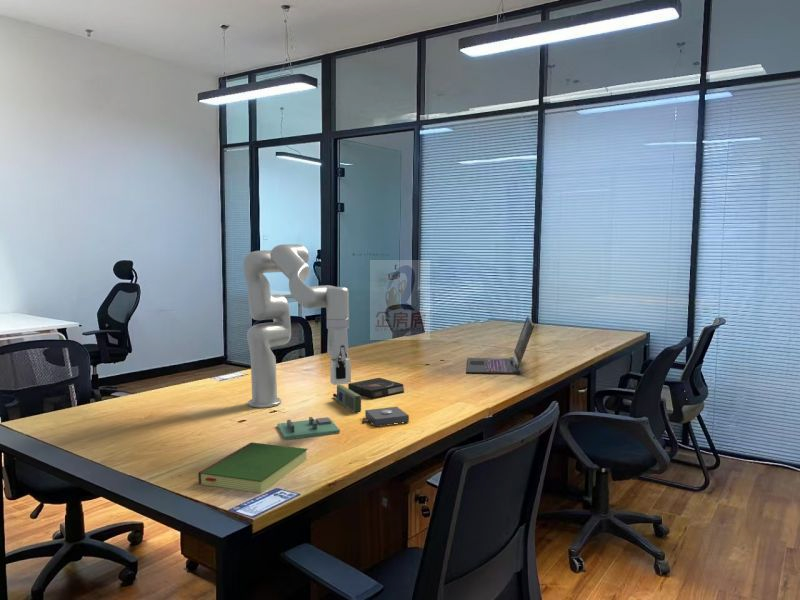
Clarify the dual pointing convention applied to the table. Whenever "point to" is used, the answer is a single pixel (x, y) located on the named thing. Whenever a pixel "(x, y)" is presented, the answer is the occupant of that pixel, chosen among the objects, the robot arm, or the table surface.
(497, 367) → the laptop
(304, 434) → the board
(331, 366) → the plug
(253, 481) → the hardcover book
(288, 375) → the table surface
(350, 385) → the portable cd player
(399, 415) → the gray dome slab
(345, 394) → the handheld radio
